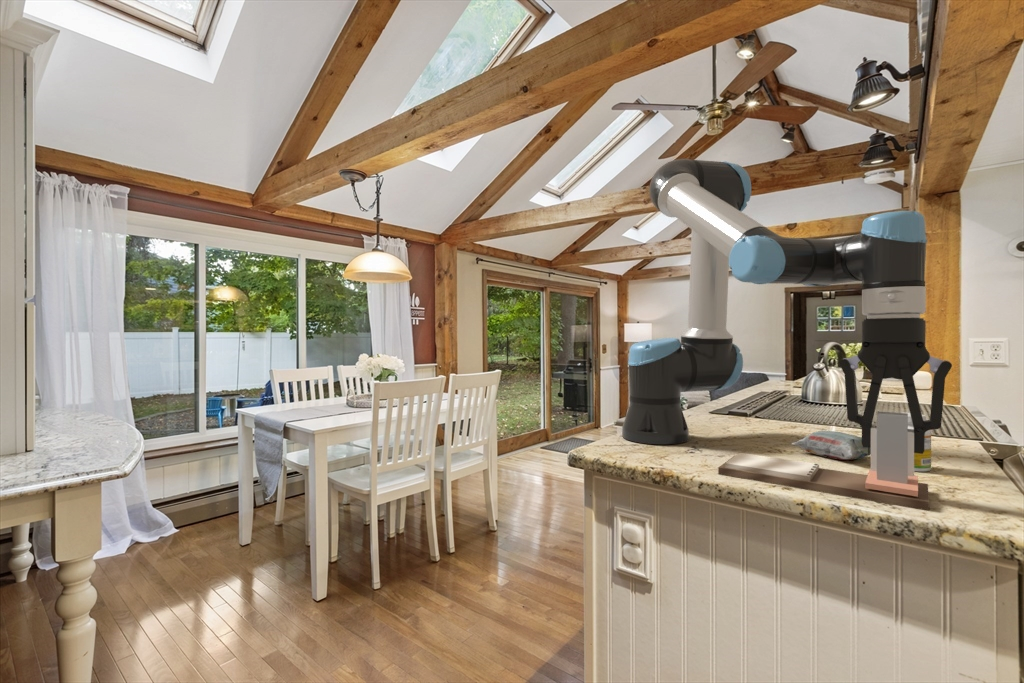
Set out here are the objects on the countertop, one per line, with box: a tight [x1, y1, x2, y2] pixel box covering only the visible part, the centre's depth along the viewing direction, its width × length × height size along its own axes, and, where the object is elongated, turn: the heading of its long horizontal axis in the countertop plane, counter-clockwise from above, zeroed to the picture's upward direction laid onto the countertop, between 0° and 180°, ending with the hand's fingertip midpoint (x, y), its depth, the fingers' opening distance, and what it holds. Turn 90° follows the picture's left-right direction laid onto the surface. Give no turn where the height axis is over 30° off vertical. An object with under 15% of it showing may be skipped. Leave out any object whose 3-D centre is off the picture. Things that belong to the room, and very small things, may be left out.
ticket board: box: [717, 452, 930, 511], centre depth 79 cm, size 28×10×2 cm, turn 50°
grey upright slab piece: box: [865, 410, 919, 497], centre depth 73 cm, size 6×9×11 cm, turn 140°
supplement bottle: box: [907, 412, 932, 473], centre depth 86 cm, size 5×5×10 cm
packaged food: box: [790, 430, 871, 461], centre depth 95 cm, size 9×12×5 cm
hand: (892, 471), depth 73 cm, fingers closed on grey upright slab piece, 4 cm apart
